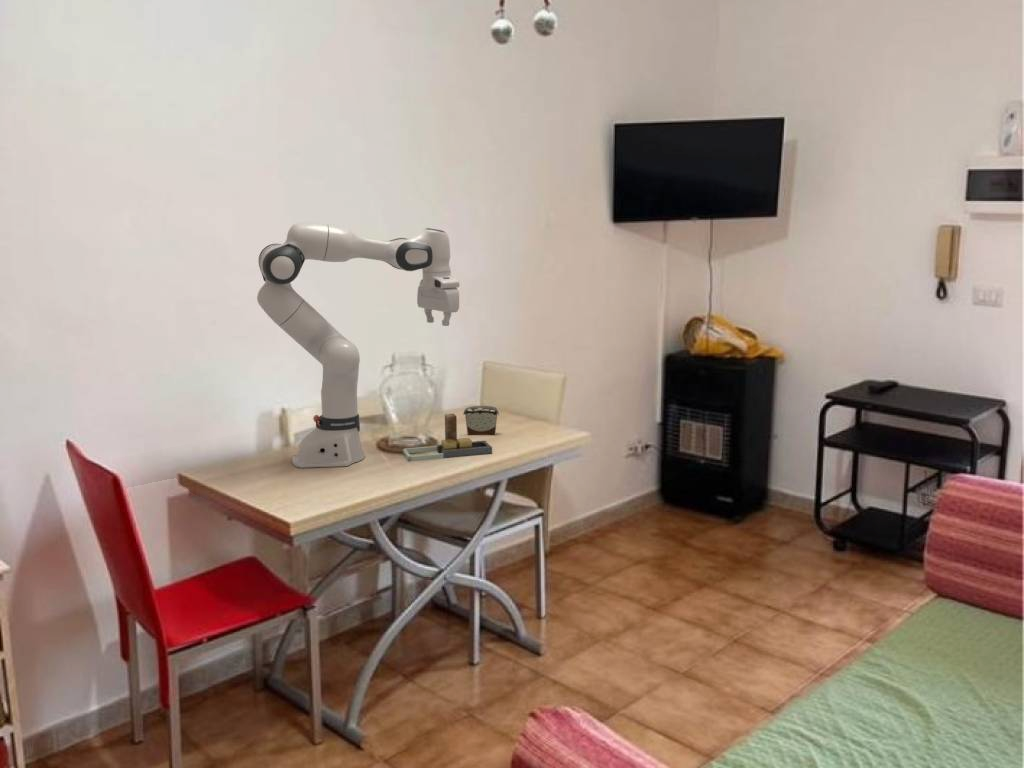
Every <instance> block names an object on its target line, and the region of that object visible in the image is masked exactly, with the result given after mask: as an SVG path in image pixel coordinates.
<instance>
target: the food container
mask: <svg viewBox="0 0 1024 768" xmlns="http://www.w3.org/2000/svg"><path fill="white" fill-rule="evenodd" d="M462 415H463V416H465V425H466V433H467V436H496V430H497V420H498V416H500V413H499V409H498V408H497V407H494V406H491V405H490V406H489V405H475V406H473V405H472V406H468V407H466V408H464V411H463V414H462Z"/></svg>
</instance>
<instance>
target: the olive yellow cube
mask: <svg viewBox="0 0 1024 768" xmlns="http://www.w3.org/2000/svg"><path fill="white" fill-rule="evenodd" d="M472 442H473V440H471V439H470V437H465V438H457V449H462V448H472Z"/></svg>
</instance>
